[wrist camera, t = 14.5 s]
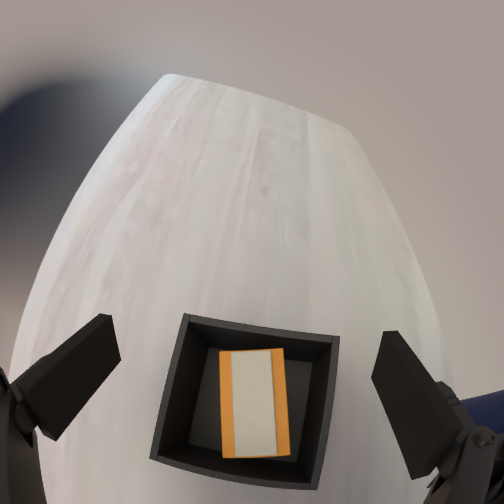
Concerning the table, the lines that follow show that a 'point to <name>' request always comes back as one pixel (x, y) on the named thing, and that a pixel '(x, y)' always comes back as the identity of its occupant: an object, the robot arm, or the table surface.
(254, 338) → the bin
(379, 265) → the table surface
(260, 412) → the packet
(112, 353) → the robot arm
